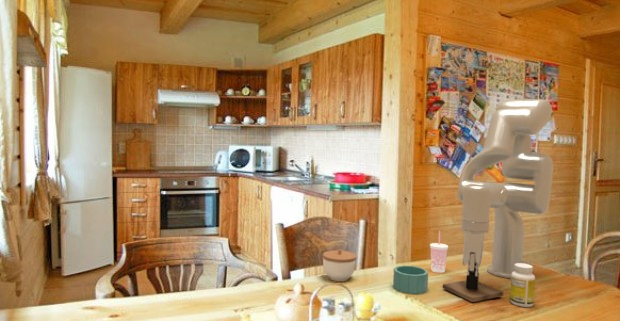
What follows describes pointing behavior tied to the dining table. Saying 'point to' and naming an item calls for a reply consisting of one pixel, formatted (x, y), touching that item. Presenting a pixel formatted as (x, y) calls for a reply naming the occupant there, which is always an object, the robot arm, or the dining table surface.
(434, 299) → the dining table surface
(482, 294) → the lid
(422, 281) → the bowl
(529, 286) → the pill bottle
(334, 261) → the lidded jar
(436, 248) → the beverage cup
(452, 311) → the dining table surface
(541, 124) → the robot arm
